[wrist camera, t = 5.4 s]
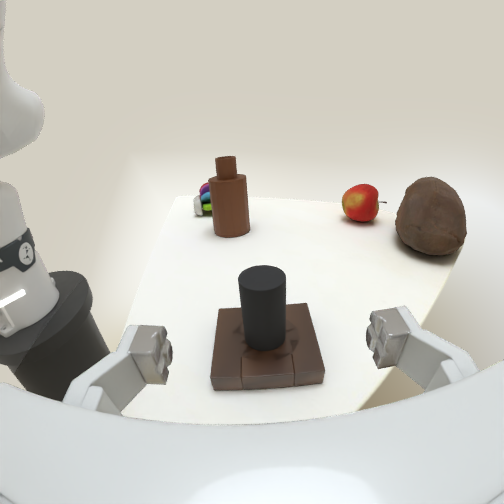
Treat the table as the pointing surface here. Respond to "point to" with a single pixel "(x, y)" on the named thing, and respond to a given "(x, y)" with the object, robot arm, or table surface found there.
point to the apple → (361, 202)
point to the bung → (263, 306)
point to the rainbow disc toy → (202, 200)
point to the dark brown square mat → (266, 354)
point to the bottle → (229, 199)
